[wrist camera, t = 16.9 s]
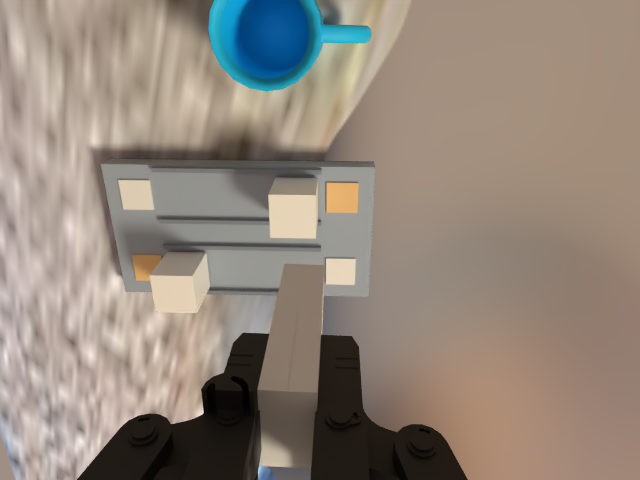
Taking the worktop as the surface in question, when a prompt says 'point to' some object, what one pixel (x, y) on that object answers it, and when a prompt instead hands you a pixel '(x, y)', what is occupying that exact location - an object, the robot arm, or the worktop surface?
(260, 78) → the mug
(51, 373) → the worktop surface
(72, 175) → the worktop surface
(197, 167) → the switch bank
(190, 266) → the tab
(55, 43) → the worktop surface
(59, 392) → the worktop surface
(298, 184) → the tab
